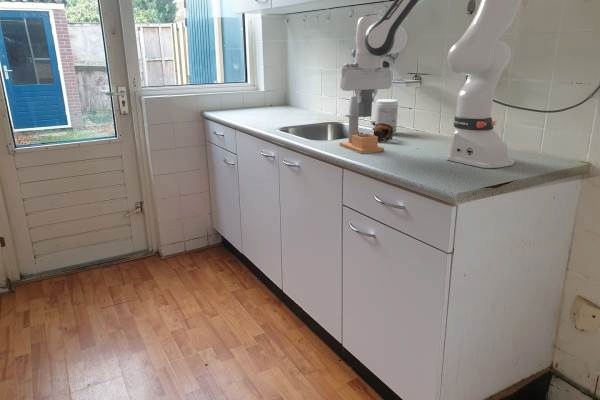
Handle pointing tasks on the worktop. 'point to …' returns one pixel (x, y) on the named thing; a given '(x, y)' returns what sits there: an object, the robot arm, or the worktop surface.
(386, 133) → the pottery mug
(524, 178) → the worktop surface
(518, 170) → the worktop surface
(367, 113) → the grey upright block
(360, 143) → the wooden stepped base
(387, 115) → the supplement tub
